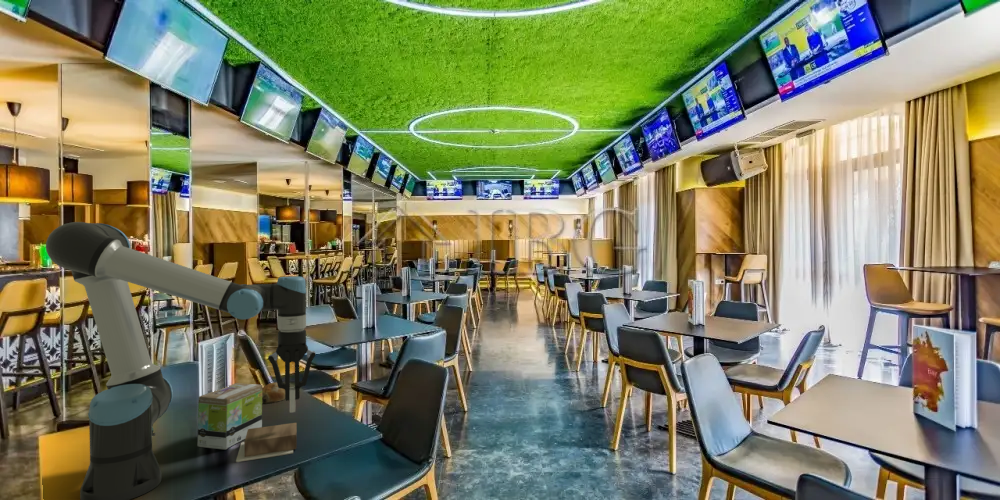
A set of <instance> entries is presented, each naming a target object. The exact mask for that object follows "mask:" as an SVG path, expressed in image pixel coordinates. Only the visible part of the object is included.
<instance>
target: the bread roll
mask: <svg viewBox="0 0 1000 500" xmlns="http://www.w3.org/2000/svg"><path fill="white" fill-rule="evenodd" d="M284 400H285V389H282V388H279V387H278V384H277V381H276V382H270V383H268V384H265V386H262V404H263V403H265V404H266V403H267V404H270V403H277V402H282V401H284ZM285 401H286V400H285Z"/></svg>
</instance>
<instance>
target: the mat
mask: <svg viewBox="0 0 1000 500" xmlns="http://www.w3.org/2000/svg"><path fill="white" fill-rule="evenodd" d="M240 442H241V443H240V446H239V449H238V452H237V455H236V458H235V459H236V460H235V462H236V463H240V462H245V461H247V462H248V461H253V460H259V459H267V458H274V457H279V456H284V455H291V454H294V449H292V450H285V451H279V452H272V453H266V454H259V455H253V456H246V457H245V447H244V442H245V441H240Z"/></svg>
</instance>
